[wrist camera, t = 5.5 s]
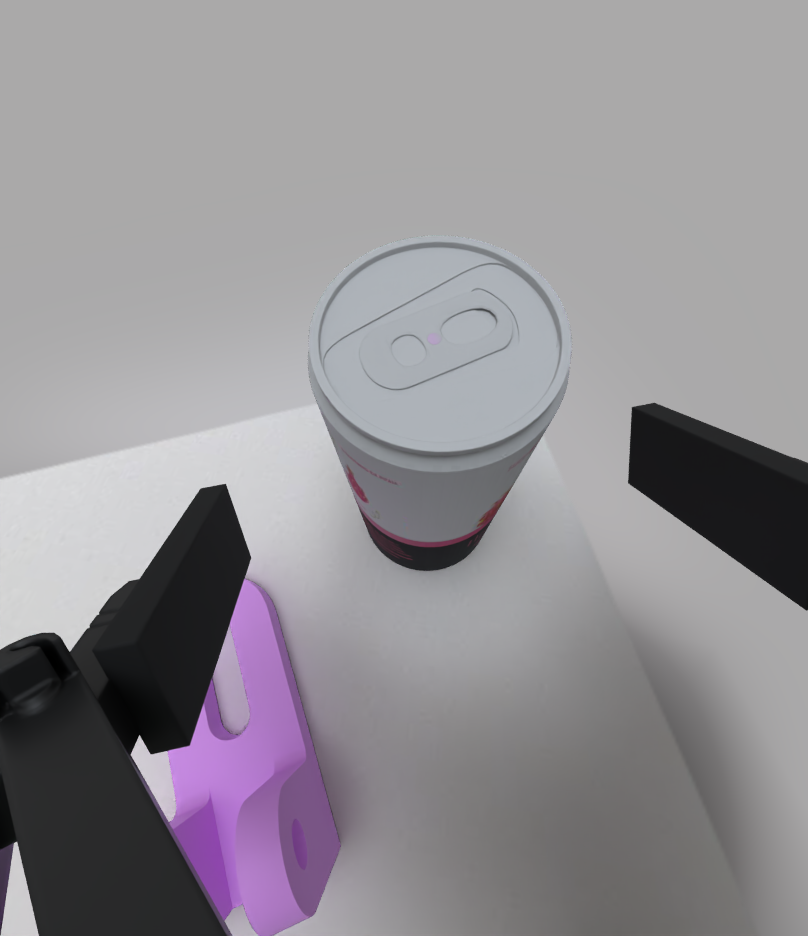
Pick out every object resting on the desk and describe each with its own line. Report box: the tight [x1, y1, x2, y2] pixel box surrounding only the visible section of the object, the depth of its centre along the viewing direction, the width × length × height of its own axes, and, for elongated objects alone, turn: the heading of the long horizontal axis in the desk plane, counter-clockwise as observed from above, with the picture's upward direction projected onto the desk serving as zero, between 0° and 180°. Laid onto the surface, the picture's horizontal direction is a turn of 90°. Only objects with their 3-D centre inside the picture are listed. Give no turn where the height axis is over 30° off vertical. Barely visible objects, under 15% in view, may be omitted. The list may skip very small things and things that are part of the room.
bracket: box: [168, 578, 341, 936], centre depth 18 cm, size 13×6×7 cm, turn 22°
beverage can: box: [308, 236, 572, 571], centre depth 18 cm, size 6×7×15 cm
